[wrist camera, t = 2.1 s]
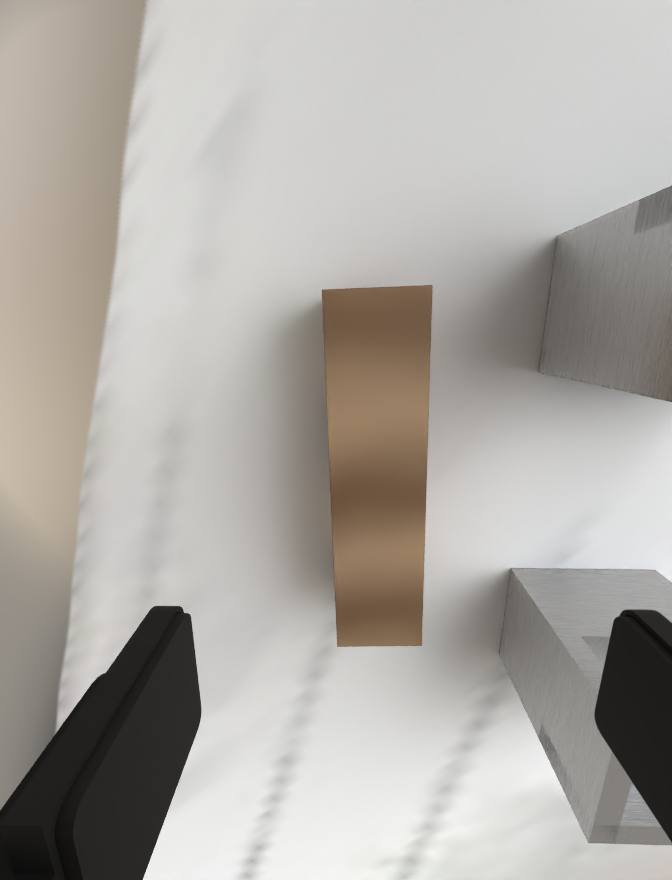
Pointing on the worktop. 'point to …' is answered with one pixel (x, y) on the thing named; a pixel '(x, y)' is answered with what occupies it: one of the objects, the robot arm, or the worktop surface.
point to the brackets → (592, 590)
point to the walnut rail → (378, 458)
